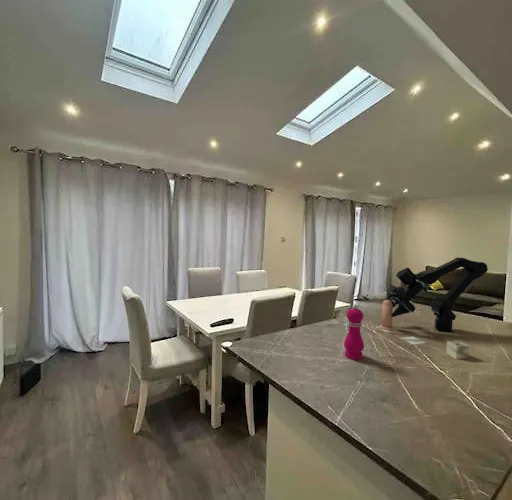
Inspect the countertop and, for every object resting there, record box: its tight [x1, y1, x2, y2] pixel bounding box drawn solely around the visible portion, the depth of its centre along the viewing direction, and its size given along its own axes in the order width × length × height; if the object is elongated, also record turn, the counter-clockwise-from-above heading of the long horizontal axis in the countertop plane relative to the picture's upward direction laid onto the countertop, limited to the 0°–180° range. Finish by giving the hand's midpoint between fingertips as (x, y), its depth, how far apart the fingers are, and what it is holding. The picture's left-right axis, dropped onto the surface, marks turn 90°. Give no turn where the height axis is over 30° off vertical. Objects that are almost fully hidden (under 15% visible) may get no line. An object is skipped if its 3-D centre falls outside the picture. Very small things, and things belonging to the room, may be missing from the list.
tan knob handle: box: [379, 299, 395, 332], centre depth 143 cm, size 6×6×14 cm
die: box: [445, 340, 470, 360], centre depth 113 cm, size 5×5×5 cm
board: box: [375, 325, 427, 347], centre depth 136 cm, size 25×9×1 cm, turn 17°
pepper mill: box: [343, 304, 365, 361], centre depth 111 cm, size 7×7×20 cm
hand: (387, 313), depth 143 cm, fingers open, 9 cm apart
